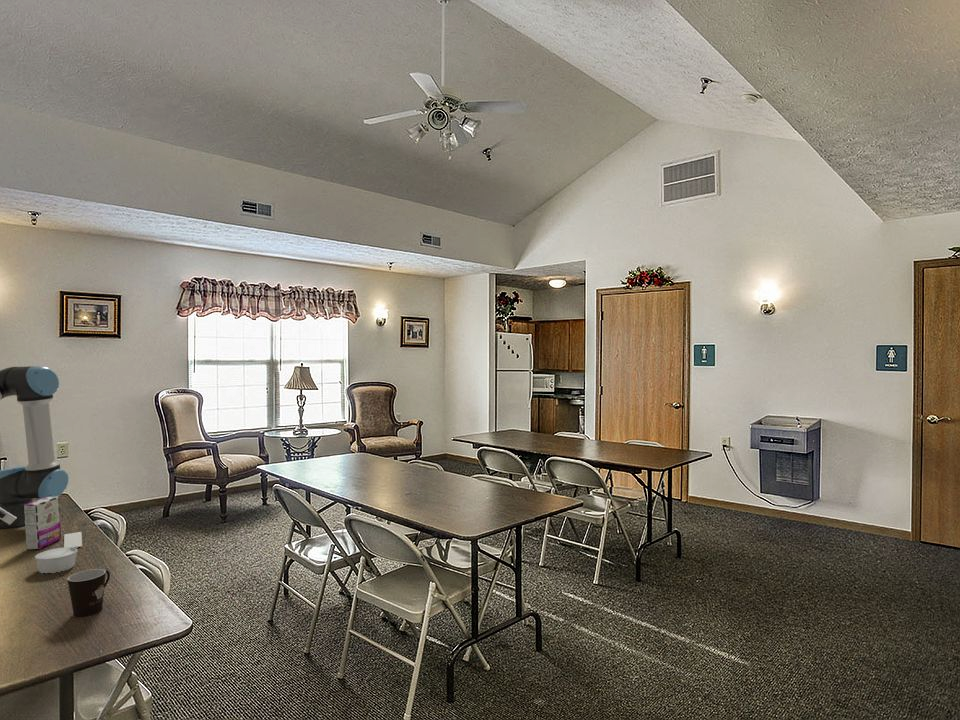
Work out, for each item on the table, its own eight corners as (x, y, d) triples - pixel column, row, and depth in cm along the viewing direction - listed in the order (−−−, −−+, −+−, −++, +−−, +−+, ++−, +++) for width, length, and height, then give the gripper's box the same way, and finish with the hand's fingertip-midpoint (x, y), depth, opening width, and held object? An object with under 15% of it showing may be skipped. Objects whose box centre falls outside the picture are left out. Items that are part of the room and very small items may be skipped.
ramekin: (81, 568, 191) (81, 552, 191) (39, 578, 183) (38, 561, 183) (73, 560, 199) (72, 544, 198) (32, 569, 190) (31, 553, 190)
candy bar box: (48, 540, 220) (46, 496, 220) (61, 539, 220) (60, 496, 220) (24, 550, 209) (23, 504, 209) (38, 550, 209) (36, 504, 208)
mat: (64, 536, 224) (64, 534, 224) (81, 533, 228) (81, 531, 228) (63, 550, 208) (63, 548, 208) (82, 547, 211) (82, 545, 211)
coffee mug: (78, 622, 152) (76, 583, 152) (62, 614, 157) (61, 577, 157) (124, 604, 162) (123, 569, 162) (108, 598, 167) (107, 563, 167)
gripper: (-58, 486, 203) (5, 525, 213) (-66, 493, 192) (1, 534, 202) (-38, 469, 206) (23, 508, 216) (-45, 475, 195) (21, 516, 205)
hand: (13, 521), depth 209 cm, fingers closed
